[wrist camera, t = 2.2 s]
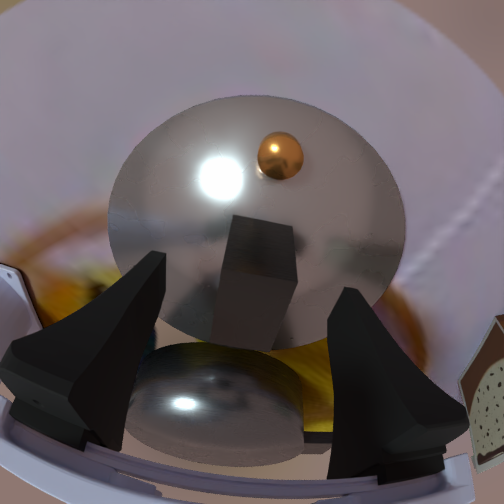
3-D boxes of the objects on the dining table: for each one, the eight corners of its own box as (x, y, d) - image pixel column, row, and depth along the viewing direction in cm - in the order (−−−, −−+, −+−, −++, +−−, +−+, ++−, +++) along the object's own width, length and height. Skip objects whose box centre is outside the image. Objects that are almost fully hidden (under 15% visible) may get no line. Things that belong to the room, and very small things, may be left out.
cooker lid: (126, 312, 18) (102, 369, 15) (118, 76, 10) (53, 93, 6) (336, 349, 19) (344, 409, 15) (441, 149, 11) (499, 194, 7)
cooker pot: (123, 398, 26) (111, 441, 22) (97, 315, 18) (69, 376, 14) (301, 427, 27) (302, 471, 23) (360, 360, 19) (371, 424, 15)
